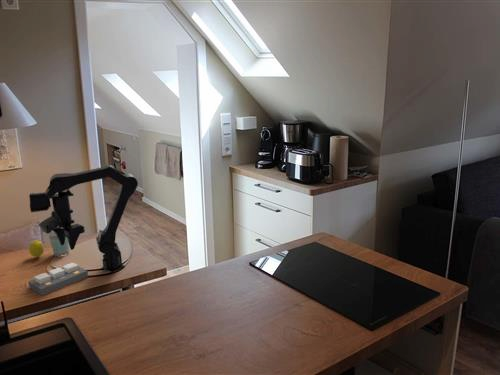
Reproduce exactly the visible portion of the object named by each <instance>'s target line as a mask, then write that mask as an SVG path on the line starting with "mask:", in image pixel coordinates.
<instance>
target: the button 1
mask: <svg viewBox="0 0 500 375" xmlns="http://www.w3.org/2000/svg"><path fill="white" fill-rule="evenodd" d="M48 274H49V273H46V272H43V273H41V274H38V275H35V276H34V277H33V279H35V282H36V283H38V284H43V283H46V282H48V281H51V278H50V275H48Z"/></svg>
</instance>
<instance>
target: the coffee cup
mask: <svg viewBox="0 0 500 375" xmlns="http://www.w3.org/2000/svg"><path fill="white" fill-rule="evenodd" d="M47 236H48V238H49V241H50V244H51V248H52V251H53V255H54V257H56V256H61V255H65V254H68V253H70V246H69V242H68V239H67V237H65V243H64V245H61V244H60V242H59V240H58V238H57V236H56V234H55V232H53V231H51V232H50V233H48V234H47ZM68 255H69V254H68Z"/></svg>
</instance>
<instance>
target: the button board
mask: <svg viewBox="0 0 500 375" xmlns="http://www.w3.org/2000/svg"><path fill="white" fill-rule="evenodd" d="M61 269H63V267H62V268H61ZM64 272H65V271H64ZM47 274H48V275H49V273H47ZM88 277H89V272H88V270H86V269H85V268H83V267H81V266H79V265H78V270H77V271H74V272H71V273H69V274H68V273H67V272H65V275H64V276H61V277H59V278H56V279H54V278H52V277H50V278H51V281H48V282H46V283H43V284H38V283H36V282H35V279H34V278H32V279H31V280H28V287H29V289H31V290H33V291H34V292H36V293H37V294H39V295H40V296H44V295H47V294H49V293H52V292H54V291H57V290H59V289H62V288H65V287H66V286H70V285H72V284H74V283H76V282H79V281H81V280H84V279H86V278H88Z"/></svg>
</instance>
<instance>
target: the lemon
mask: <svg viewBox="0 0 500 375" xmlns="http://www.w3.org/2000/svg"><path fill="white" fill-rule="evenodd" d="M28 250H29V254H30V255H31V256H32V257H36V258H40V257H41V256H42V255H43V253H44V250H45V246H44V245H43V243H42V242H41V241H40V240H36V239H34V240H32V241H31V243H30V244H29V247H28Z"/></svg>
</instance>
